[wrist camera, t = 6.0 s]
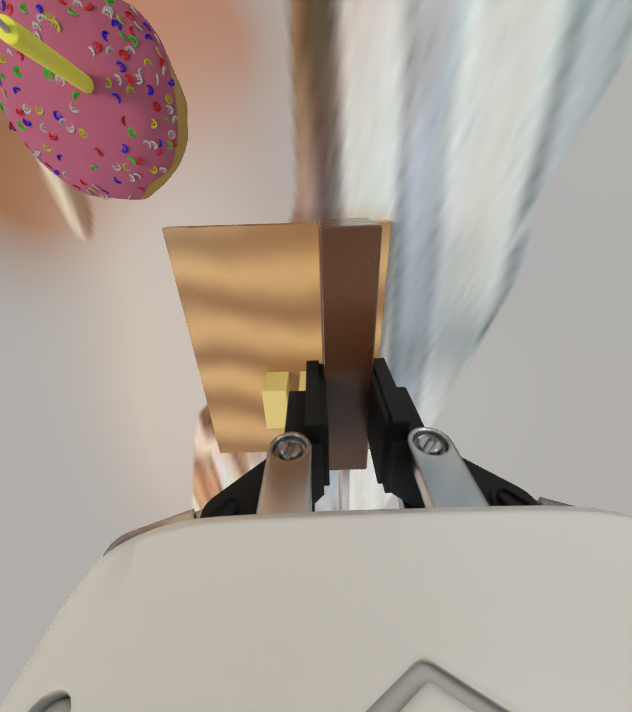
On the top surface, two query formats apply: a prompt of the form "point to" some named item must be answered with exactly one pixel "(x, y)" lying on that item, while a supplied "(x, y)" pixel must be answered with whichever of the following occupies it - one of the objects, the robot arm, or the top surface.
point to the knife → (348, 337)
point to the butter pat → (276, 398)
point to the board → (253, 315)
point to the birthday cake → (92, 94)
